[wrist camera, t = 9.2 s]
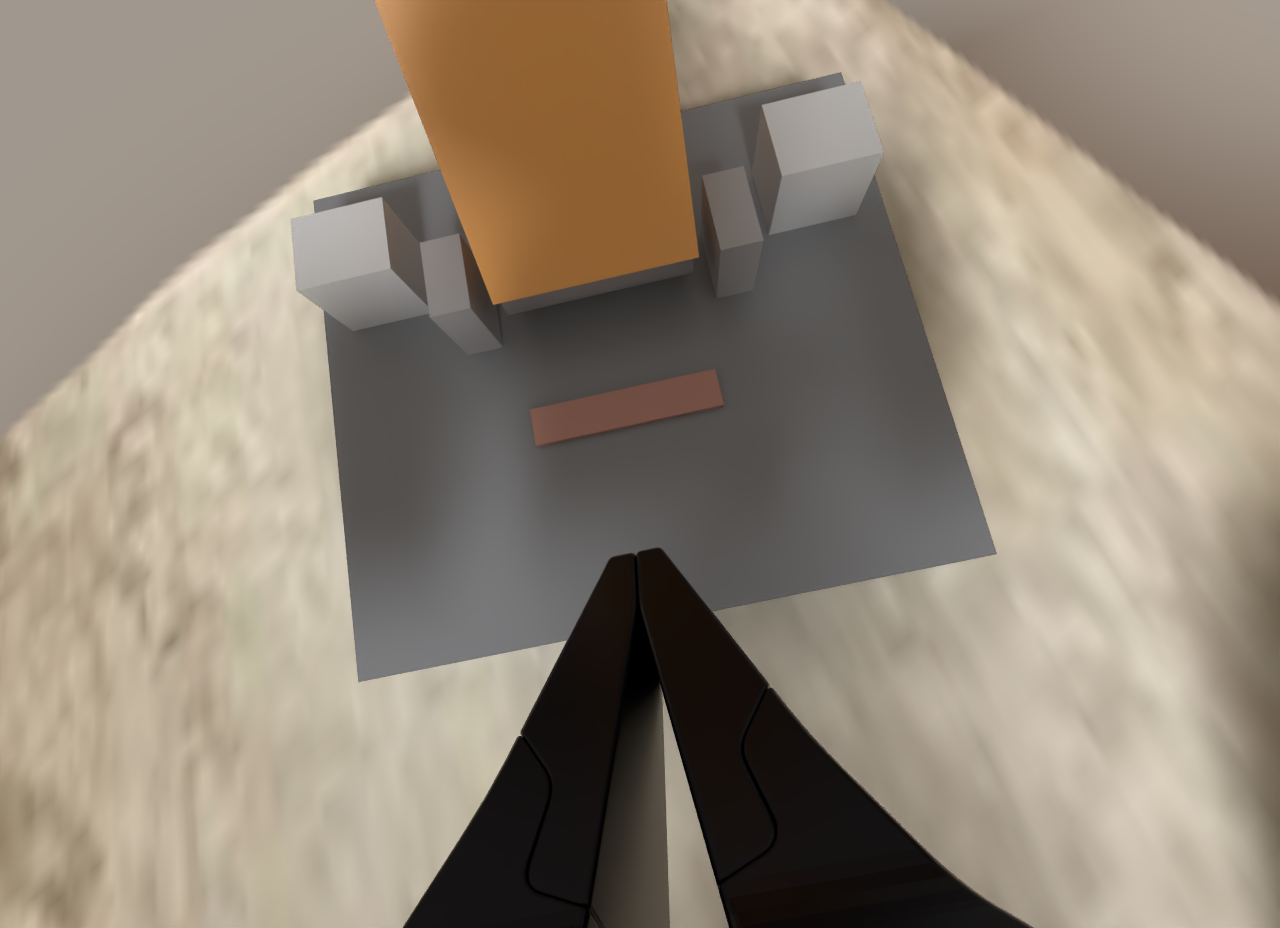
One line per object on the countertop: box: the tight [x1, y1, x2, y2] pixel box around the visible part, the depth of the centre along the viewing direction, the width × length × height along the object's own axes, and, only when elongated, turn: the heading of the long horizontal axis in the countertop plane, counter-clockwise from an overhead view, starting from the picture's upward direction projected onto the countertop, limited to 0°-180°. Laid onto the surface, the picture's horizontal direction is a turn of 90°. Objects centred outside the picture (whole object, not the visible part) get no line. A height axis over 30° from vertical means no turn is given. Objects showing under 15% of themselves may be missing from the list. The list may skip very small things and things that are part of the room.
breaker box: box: [291, 72, 997, 682], centre depth 16 cm, size 14×16×5 cm
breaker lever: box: [375, 0, 699, 315], centre depth 12 cm, size 2×5×10 cm
